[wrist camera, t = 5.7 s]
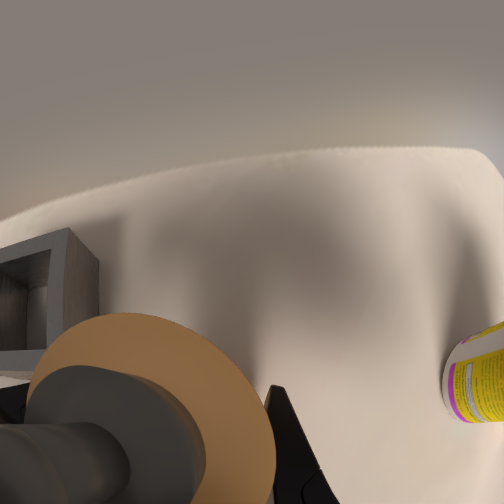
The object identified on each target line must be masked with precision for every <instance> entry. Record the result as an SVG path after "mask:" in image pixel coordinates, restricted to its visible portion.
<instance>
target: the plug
mask: <svg viewBox="0 0 504 504" xmlns="http://www.w3.org/2000/svg"><path fill="white" fill-rule="evenodd" d="M275 470H276V448H275V442H274V436H273V431H272V427H271V424H270V421H269V418H268V415H267V412H266V410H265V408H264V406H263V404H262V402H261V400H260V398H259V396H258V394H257V393H256V391H255V390H254V388H253V386H252V385H251V383H250V382H249V380H248V379H247V378H246V377H245V375H244V374H243V373H242V372H241V370H240V369H239V368H238V367H237V365H236V364H235V363H234V362H232V361H231V360H230V359H229V358H228V357H227V356H226V355H225V354H224V353H223V352H222V351H221V350H220V349H218V348H217V347H216V346H214V345H213V344H212V343H211V342H209V341H208V340H207V339H205V338H203V337H202V336H200V335H198V334H197V333H195V332H193V331H192V330H190V329H188V328H186V327H183V326H181V325H179V324H177V323H175V322H172V321H169V320H166V319H163V318H160V317H156V316H150V315H145V314H138V313H114V314H106V315H102V316H97V317H94V318H91V319H88V320H85V321H83V322H81V323H79V324H77V325H75V326H73V327H71V328H70V329H68V330H67V331H66V332H64V333H63V334H62V335H60V336H59V337H58V338H57V339H56V340H55V341H54V342H53V343H52V344H51V345H50V346H49V347H48V349H47V350H46V352H45V353H44V354H43V356H42V357H41V359H40V361H39V363H38V364H37V366H36V368H35V371H34V373H33V376H32V379H31V381H30V385H29V390H28V394H27V403H26V411H25V416H24V424H0V504H266V502H267V500H268V498H269V495H270V492H271V489H272V486H273V483H274V476H275Z"/></svg>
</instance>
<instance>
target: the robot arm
mask: <svg viewBox="0 0 504 504" xmlns="http://www.w3.org/2000/svg"><path fill="white" fill-rule="evenodd" d="M29 385H30V382H29V383H25V384H21V385H17V386H12V387H7V388H1V389H0V424H24V416H25V411H26V403H27V394H28V390H29ZM264 408H265V410H266V412H267V415H268V418H269V421H270V424H271V427H272V431H273V436H274V442H275V448H276V470H275V476H274V483H273V486H272V489H271V492H270V495H269V498H268V500H267V502H266V504H340V503H339V501H338V500H337V498H336V497H335V495H334V494H333V492H332V490H331V488H330V486H329V484H328V482H327V480H326V479H325V476H324V474H323V472H322V470H321V469H320V466H319V464H318V462H317V459H316V457H315V455H314V453H313V451H312V449H311V446H310V444H309V442H308V440H307V438H306V435H305V433H304V431H303V429H302V427H301V424H300V422H299V420H298V418H297V415H296V413H295V411H294V409H293V406H292V404H291V402H290V400H289V397H288V395H287V393H286V391H285V389H284V387H281V386H277V385H271V386H270V388H269V391H268V394H267V397H266V400H265V403H264Z"/></svg>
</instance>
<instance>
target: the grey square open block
mask: <svg viewBox="0 0 504 504" xmlns="http://www.w3.org/2000/svg"><path fill="white" fill-rule="evenodd" d="M98 269H99V260H98V259H97V258H96V257H95V256H94V255H93V254H92V253H91V251H90V250H89V249H88V248H87V247H86V246H85V245H84V244H83V243H82V242H81V241H80V239H79V238H78V237H77V236H76V235H75V234H74V233H73V232H72V231H71V229H70V228H65V229H62V230H58V231H55V232H51V233H48V234H45V235H41V236H38V237H35V238H32V239H29V240H25V241H22V242H19V243H16V244H13V245H10V246H7V247H4V248H1V249H0V375H2V376H6V377H10V378H15V379H28V380H31V379H32V376H33V373H34V371H35V368H36V366H37V364H38V363H39V361H40V359H41V357H42V356H43V354H44V353H45V352H46V350H47V349H48V347H49V346H50V345H51V344H52V343H53V342H54V341H55V340H56V339H57V338H58V337H59V336H60V335H62V334H63V333H64V332H66V331H67V330H68V329H70V328H71V327H73V326H75V325H77V324H79V323H81V322H83V321H85V320H88V319H91V318H94V317H97V316H99V300H98ZM43 286H48V290H47V315H46V338H47V349H37V350H26V312H27V295H28V289H33V288H38V287H43Z"/></svg>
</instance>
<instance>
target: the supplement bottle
mask: <svg viewBox="0 0 504 504" xmlns="http://www.w3.org/2000/svg"><path fill="white" fill-rule="evenodd" d="M442 394H443V399H444V403H445V406H446V408H447V410H448V412H449V413H450V415H451V416H452V417H453V418H455V419H456V420H458V421H460V422H464V423H485V422H500V421H504V321H503V322H501V323H499V324H497V325H495V326H492V327H490V328H488V329H486V330H484V331H481V332H479V333H476V334H474V335H472V336H470V337H467V338H465V339H464V340H462V341H461V342H460V343H459V344H458V345H457V346H456V347H455V348H454V349H453V351H452V352H451V354H450V356H449V358H448V360H447V363H446V365H445V369H444V373H443V379H442Z"/></svg>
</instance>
